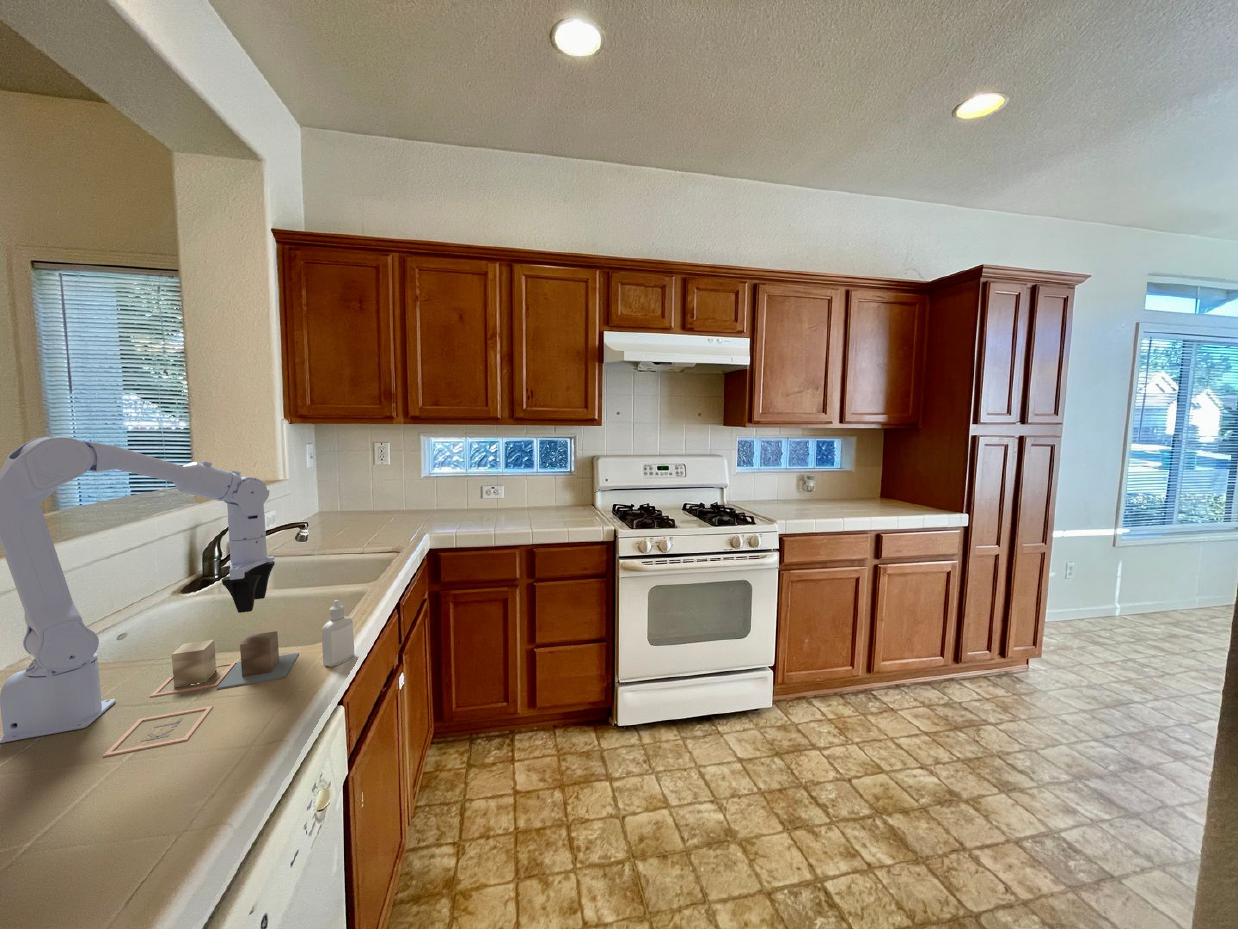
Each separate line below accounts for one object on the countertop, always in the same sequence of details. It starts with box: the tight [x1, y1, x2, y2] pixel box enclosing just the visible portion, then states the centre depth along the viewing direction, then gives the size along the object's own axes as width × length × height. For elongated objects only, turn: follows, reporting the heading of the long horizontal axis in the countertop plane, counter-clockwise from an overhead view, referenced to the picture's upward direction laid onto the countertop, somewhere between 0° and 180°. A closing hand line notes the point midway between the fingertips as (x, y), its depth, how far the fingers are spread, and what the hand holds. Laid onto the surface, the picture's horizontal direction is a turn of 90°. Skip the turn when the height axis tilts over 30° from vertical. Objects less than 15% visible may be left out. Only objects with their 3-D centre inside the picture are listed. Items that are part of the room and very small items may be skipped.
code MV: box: [149, 661, 237, 698], centre depth 87 cm, size 9×9×1 cm
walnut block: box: [239, 630, 280, 677], centre depth 90 cm, size 4×4×6 cm
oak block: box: [171, 639, 217, 688], centre depth 87 cm, size 4×4×6 cm
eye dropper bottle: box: [321, 599, 355, 668], centre depth 93 cm, size 4×6×12 cm
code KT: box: [102, 705, 214, 758], centre depth 72 cm, size 9×9×1 cm
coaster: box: [216, 652, 300, 691], centre depth 90 cm, size 10×10×1 cm
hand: (252, 605), depth 95 cm, fingers open, 7 cm apart
